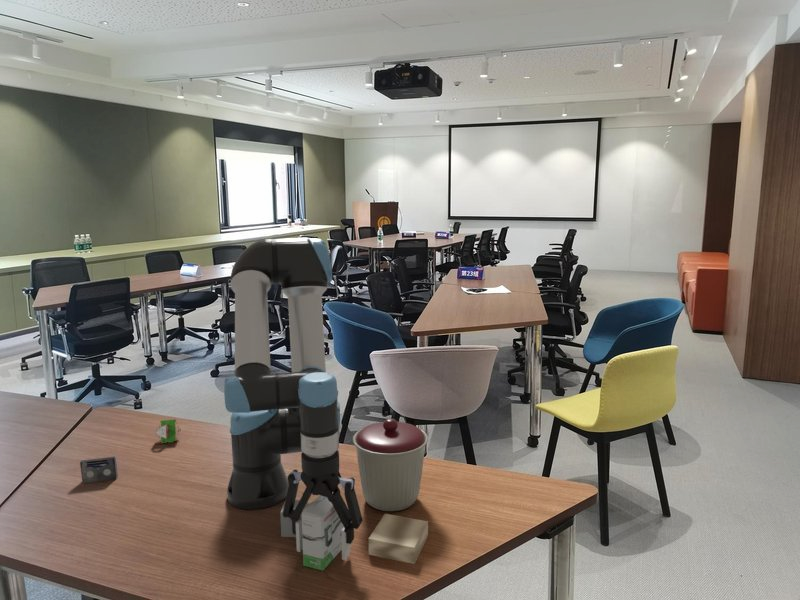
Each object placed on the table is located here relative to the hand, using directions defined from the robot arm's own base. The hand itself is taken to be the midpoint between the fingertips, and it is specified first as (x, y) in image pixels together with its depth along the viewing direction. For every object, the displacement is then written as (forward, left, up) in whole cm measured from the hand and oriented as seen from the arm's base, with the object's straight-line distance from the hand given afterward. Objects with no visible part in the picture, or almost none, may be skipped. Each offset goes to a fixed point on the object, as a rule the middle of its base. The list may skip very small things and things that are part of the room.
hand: (323, 551), depth 118 cm
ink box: (0, 0, -1) cm, 1 cm away
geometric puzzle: (-69, +40, -1) cm, 80 cm away
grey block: (-10, +7, -1) cm, 12 cm away
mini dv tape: (-71, +14, -1) cm, 72 cm away
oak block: (+14, +8, -1) cm, 16 cm away
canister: (+7, +25, -1) cm, 26 cm away
